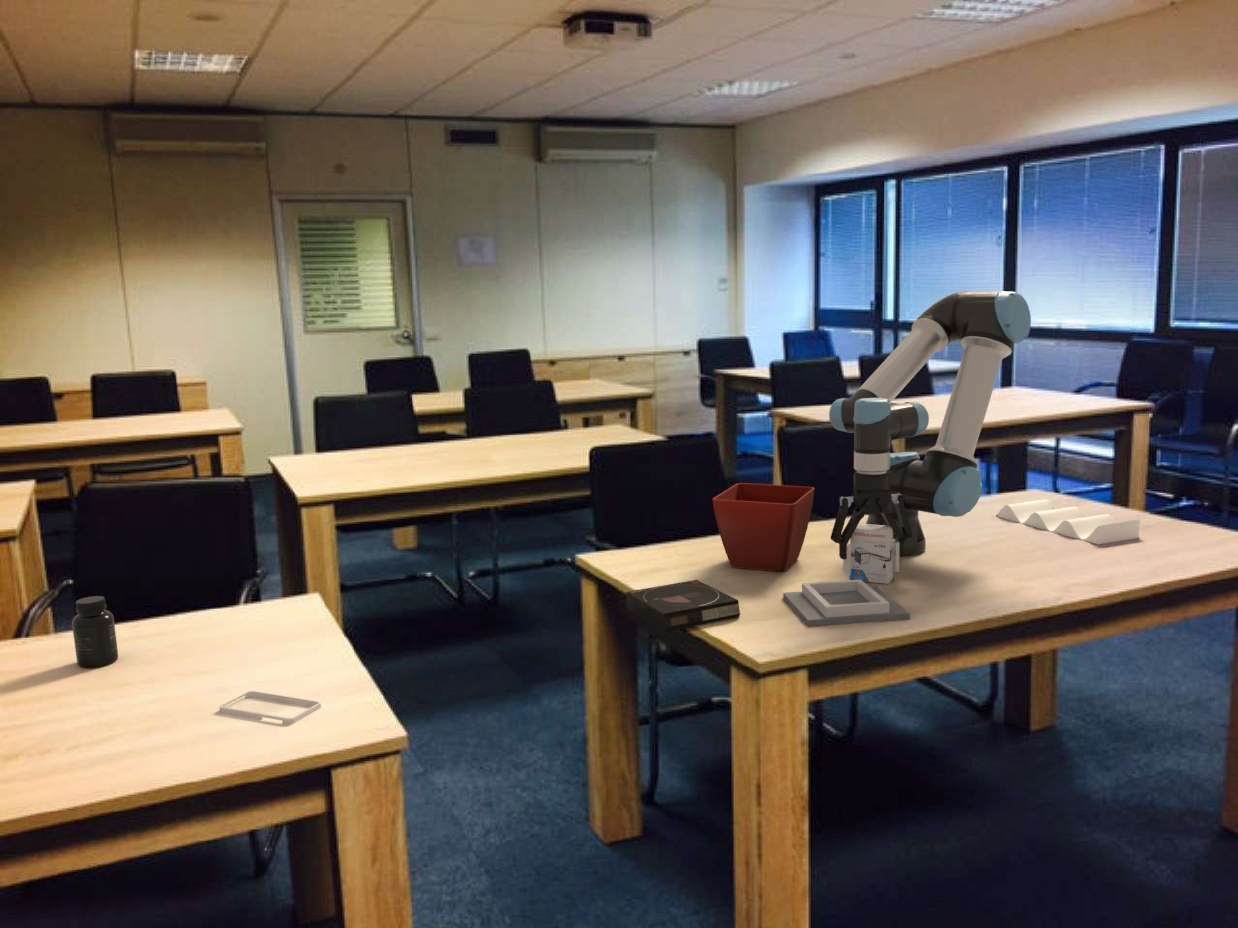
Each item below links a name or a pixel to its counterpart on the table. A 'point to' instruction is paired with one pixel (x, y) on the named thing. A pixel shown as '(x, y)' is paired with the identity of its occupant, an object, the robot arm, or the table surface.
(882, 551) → the ink box
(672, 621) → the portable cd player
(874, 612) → the square ring on plate
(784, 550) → the plant pot
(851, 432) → the robot arm
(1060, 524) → the white wavy ridged block
